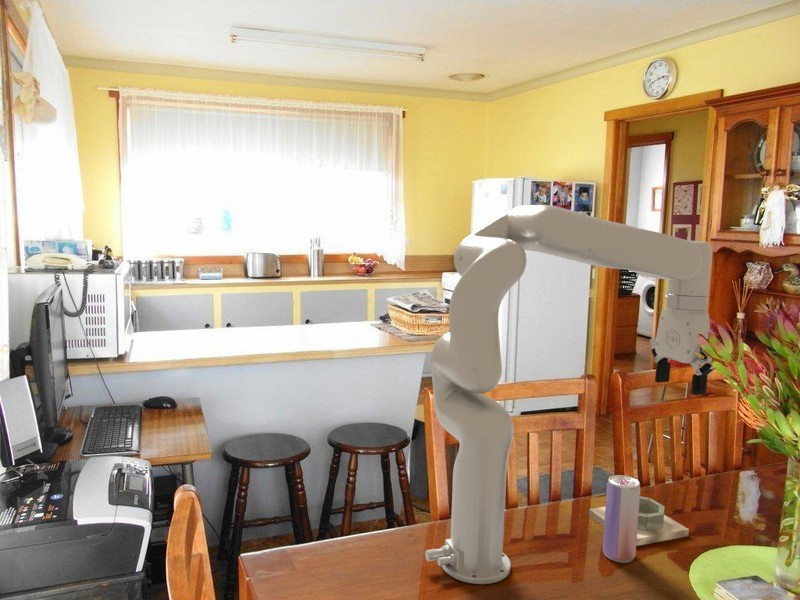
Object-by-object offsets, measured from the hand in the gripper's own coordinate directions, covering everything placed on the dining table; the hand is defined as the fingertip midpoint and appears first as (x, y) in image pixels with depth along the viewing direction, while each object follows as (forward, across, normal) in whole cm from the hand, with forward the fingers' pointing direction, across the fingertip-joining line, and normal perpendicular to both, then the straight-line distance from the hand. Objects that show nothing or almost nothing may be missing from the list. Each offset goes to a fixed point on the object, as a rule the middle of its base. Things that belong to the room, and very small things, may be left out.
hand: (679, 387), depth 131 cm
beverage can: (+31, +5, -16) cm, 35 cm away
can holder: (+31, -4, -4) cm, 31 cm away
